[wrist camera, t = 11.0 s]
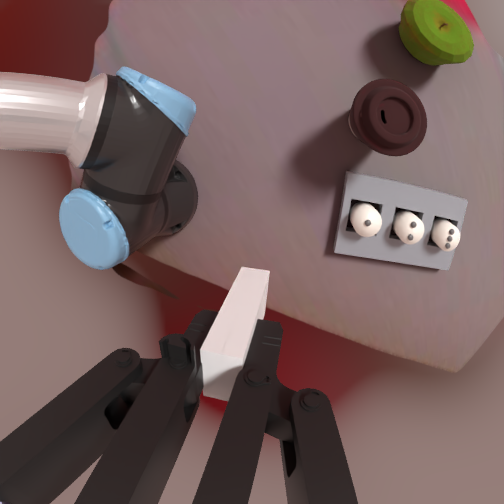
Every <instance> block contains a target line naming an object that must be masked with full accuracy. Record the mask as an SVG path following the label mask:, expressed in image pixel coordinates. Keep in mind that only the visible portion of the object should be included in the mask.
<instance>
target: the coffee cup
mask: <svg viewBox="0 0 504 504" xmlns="http://www.w3.org/2000/svg"><path fill="white" fill-rule="evenodd" d="M349 126H350V129H351V131H352V133H353V134H354V135H355V136H356V137H357V138H358V139H359V140H360V141H362V142H363V143H365V144H366V145H367V146H368V147H370V148H371V149H373V150H374V151H376V152H378V153H381V154H384V155H389V156H402V155H406V154H408V153H410V152H412V151H414V150H415V149H416V148H417V147H418V146H419V145H420V144H421V142H422V141H423V139H424V136H425V133H426V129H427V118H426V113H425V109H424V107H423V105H422V103H421V101H420V99H419V98H418V96H417V95H416V94H415V93H414V92H413V91H412V90H411V89H410V88H409V87H407V86H406V85H404V84H402V83H400V82H398V81H395V80H390V79H378V80H374V81H371V82H370V83H368V84H366V85H365V86H364V87H363V88H361V89H360V91H359V92H358V93H357V95H356V96H355V98H354V101H353V104H352V108H351V110H350V114H349Z"/></svg>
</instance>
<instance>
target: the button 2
mask: <svg viewBox="0 0 504 504" xmlns="http://www.w3.org/2000/svg"><path fill="white" fill-rule="evenodd" d="M392 228H393V230H394V232H395V233H396V234H397V235H398V237H399V238H400V239H401V240H402V241H403V242H404V243H406V244H415V243H417V242H418V241H420V240H421V238H422V237H423V234H424V224H423V222H422V221H421V220H420V219H419V218H418V217H417V216H415V215H414V214H413V213H412V212H410V211H409V210H400V211H398V212H397V213H396V214H395V215H394V218H393V222H392Z"/></svg>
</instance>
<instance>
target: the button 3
mask: <svg viewBox="0 0 504 504" xmlns="http://www.w3.org/2000/svg"><path fill="white" fill-rule="evenodd" d="M430 238H431V239H432V240H433V241H434V242H435V243H436V244H437V245H438V246H439V247H440V248H441V249H442V250H443V251H452V250H453V249H455V248H456V246H457V245H458V243H459V241H460V232H459V230H458V228H457V227H456V226H454V225H453V224H451V223H450V222H449V221H447V220H446V219H444V218H437V219H435V220H434V221H433V225H432V229H431V232H430Z"/></svg>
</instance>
